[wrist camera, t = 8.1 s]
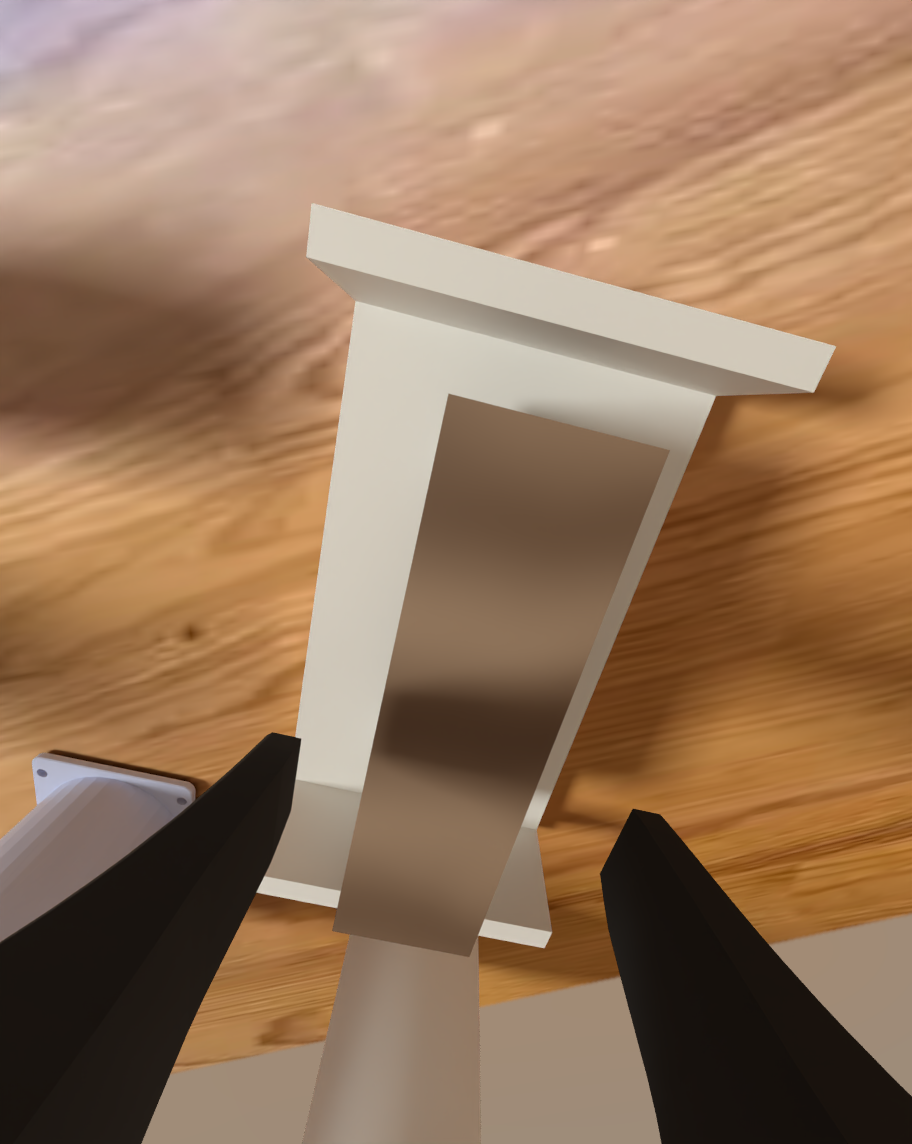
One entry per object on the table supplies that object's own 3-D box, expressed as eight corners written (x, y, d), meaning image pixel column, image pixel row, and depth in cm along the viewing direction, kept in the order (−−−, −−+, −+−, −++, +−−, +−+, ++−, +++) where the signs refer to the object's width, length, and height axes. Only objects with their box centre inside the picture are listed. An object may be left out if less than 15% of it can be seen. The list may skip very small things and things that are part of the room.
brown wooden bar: (469, 820, 19) (469, 957, 14) (367, 798, 19) (332, 931, 14) (600, 434, 13) (670, 450, 9) (456, 397, 13) (448, 393, 8)
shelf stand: (524, 824, 24) (540, 956, 18) (297, 777, 23) (241, 898, 17) (712, 351, 16) (848, 321, 10) (373, 260, 15) (314, 174, 9)
